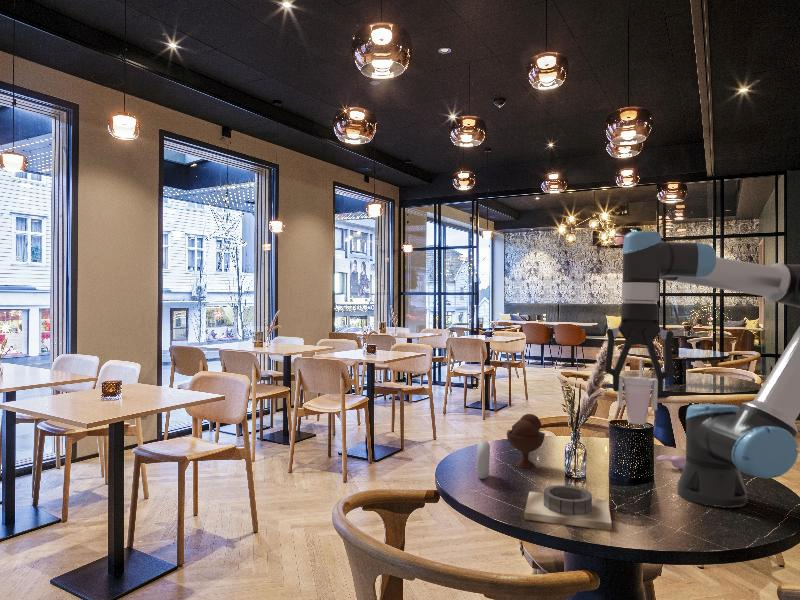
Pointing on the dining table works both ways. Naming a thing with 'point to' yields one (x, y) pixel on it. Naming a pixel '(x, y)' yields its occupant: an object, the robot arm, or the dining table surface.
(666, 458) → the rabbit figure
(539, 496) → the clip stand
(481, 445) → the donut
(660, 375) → the robot arm
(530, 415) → the ice cream bowl
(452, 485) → the dining table surface
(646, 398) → the smoothie
